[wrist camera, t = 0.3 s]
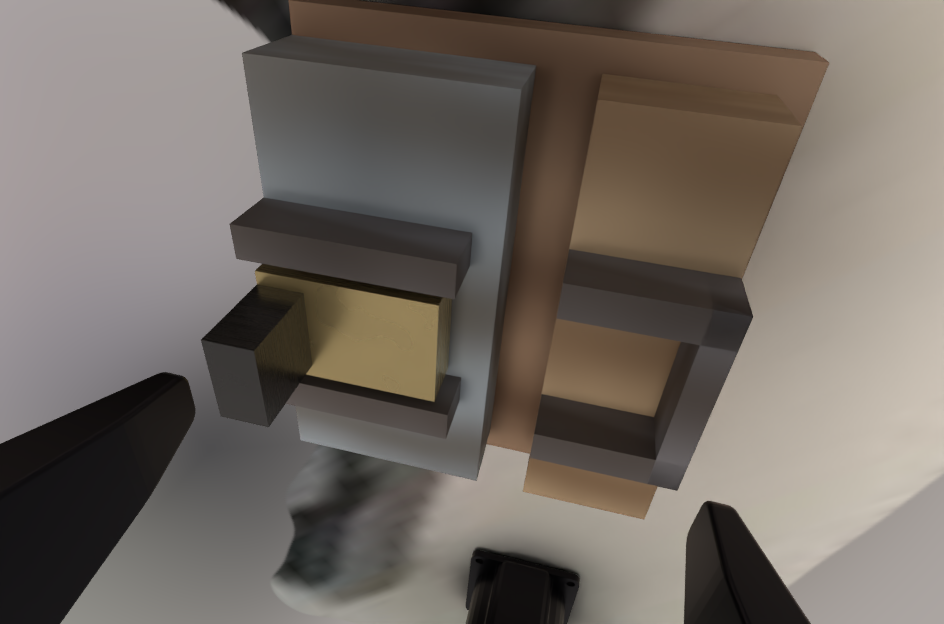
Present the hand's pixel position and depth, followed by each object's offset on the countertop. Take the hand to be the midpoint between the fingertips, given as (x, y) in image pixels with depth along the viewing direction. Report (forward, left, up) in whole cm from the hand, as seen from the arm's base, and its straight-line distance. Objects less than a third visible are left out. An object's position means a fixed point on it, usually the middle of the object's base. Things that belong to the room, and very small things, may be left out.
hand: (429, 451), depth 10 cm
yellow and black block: (-4, +5, -9) cm, 11 cm away
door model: (-4, 0, -14) cm, 14 cm away
